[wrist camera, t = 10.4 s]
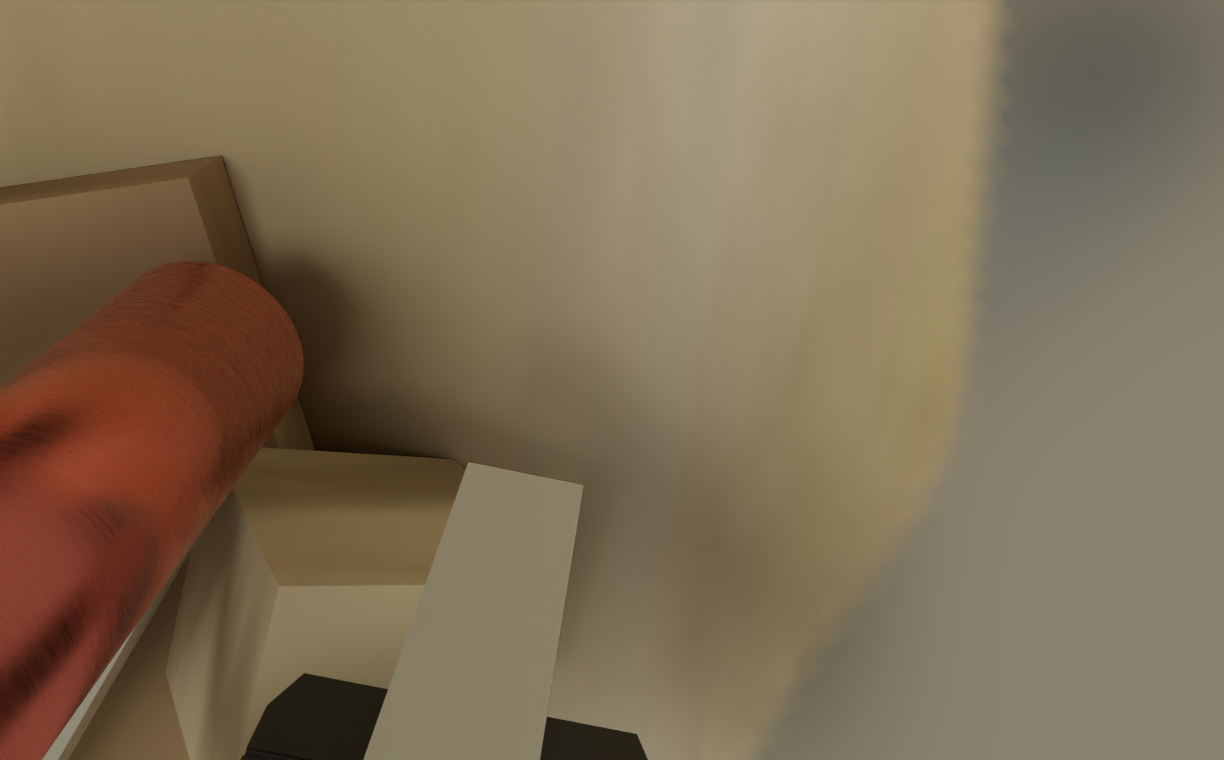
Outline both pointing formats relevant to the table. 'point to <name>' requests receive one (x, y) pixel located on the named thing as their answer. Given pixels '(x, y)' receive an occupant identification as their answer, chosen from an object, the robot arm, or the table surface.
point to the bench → (71, 292)
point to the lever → (123, 479)
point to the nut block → (302, 584)
